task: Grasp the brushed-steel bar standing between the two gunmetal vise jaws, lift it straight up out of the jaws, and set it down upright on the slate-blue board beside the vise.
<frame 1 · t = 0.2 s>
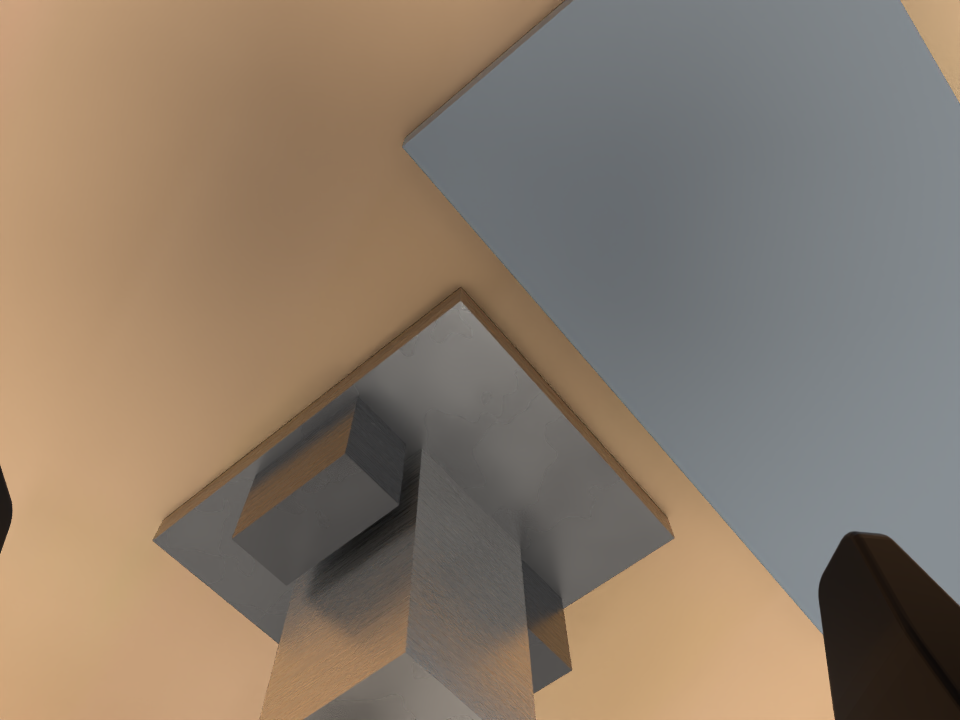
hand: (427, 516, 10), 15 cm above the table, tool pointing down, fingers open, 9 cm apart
vise: (416, 519, 28), on the table
slate board: (814, 317, 25), on the table
steel bar: (414, 539, 27), point 1 cm above the table, touching vise
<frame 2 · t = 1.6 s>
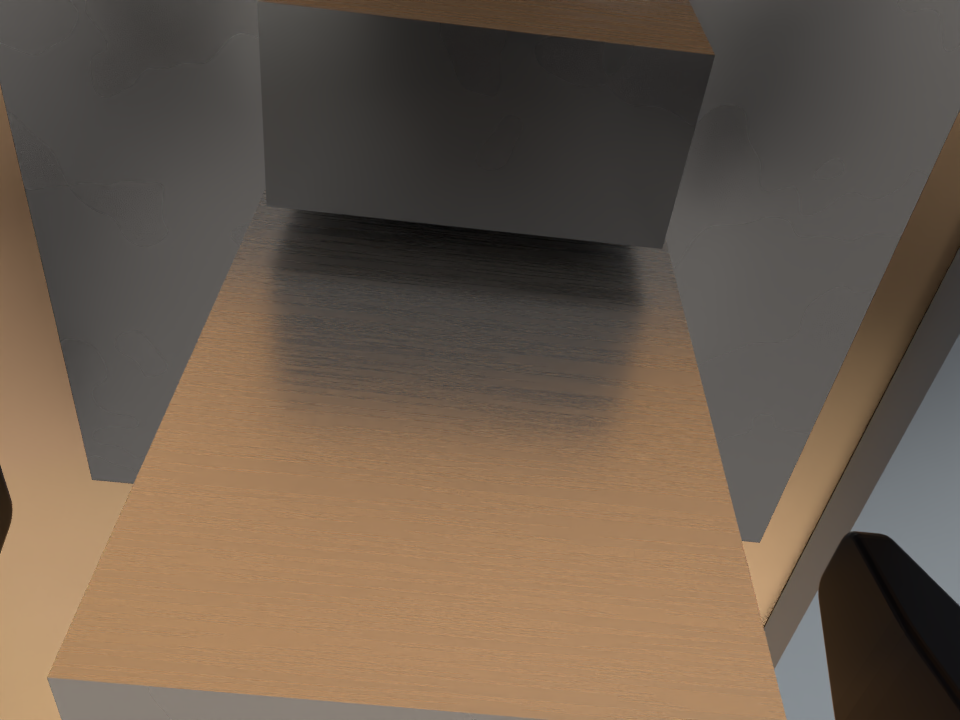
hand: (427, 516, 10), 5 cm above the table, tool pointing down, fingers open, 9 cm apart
vise: (460, 244, 14), on the table
steel bar: (456, 280, 13), point 1 cm above the table, touching vise
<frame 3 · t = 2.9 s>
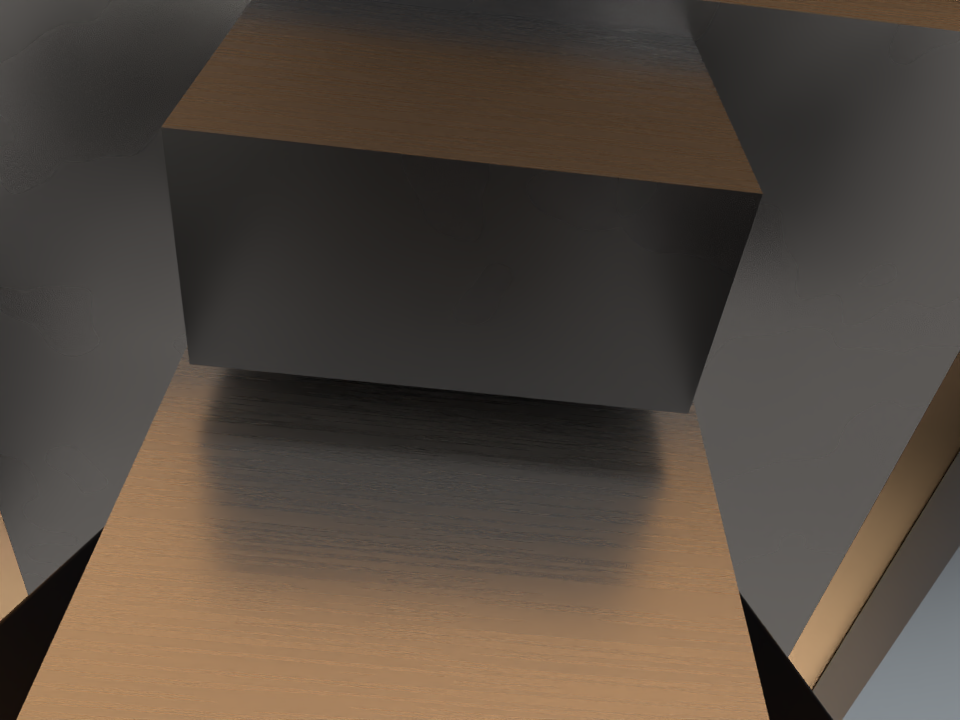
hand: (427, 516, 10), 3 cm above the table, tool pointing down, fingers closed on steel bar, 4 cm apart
vise: (443, 344, 12), on the table
steel bar: (438, 393, 11), point 1 cm above the table, touching gripper, vise
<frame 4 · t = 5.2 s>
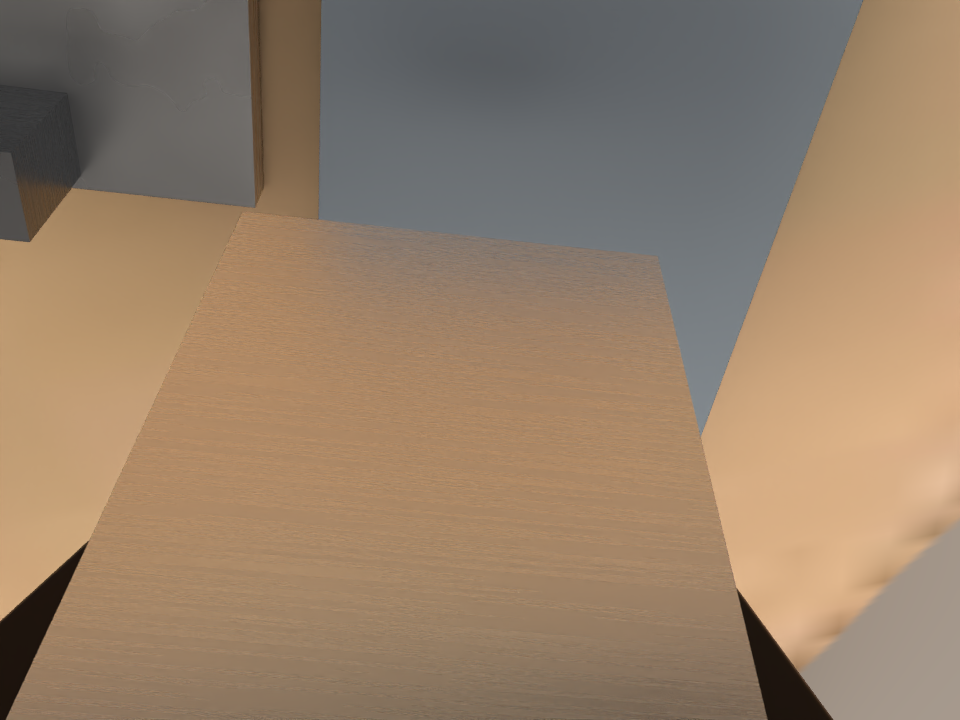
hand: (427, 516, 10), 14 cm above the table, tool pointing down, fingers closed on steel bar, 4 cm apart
slate board: (565, 105, 21), on the table
steel bar: (436, 390, 11), point 12 cm above the table, touching gripper
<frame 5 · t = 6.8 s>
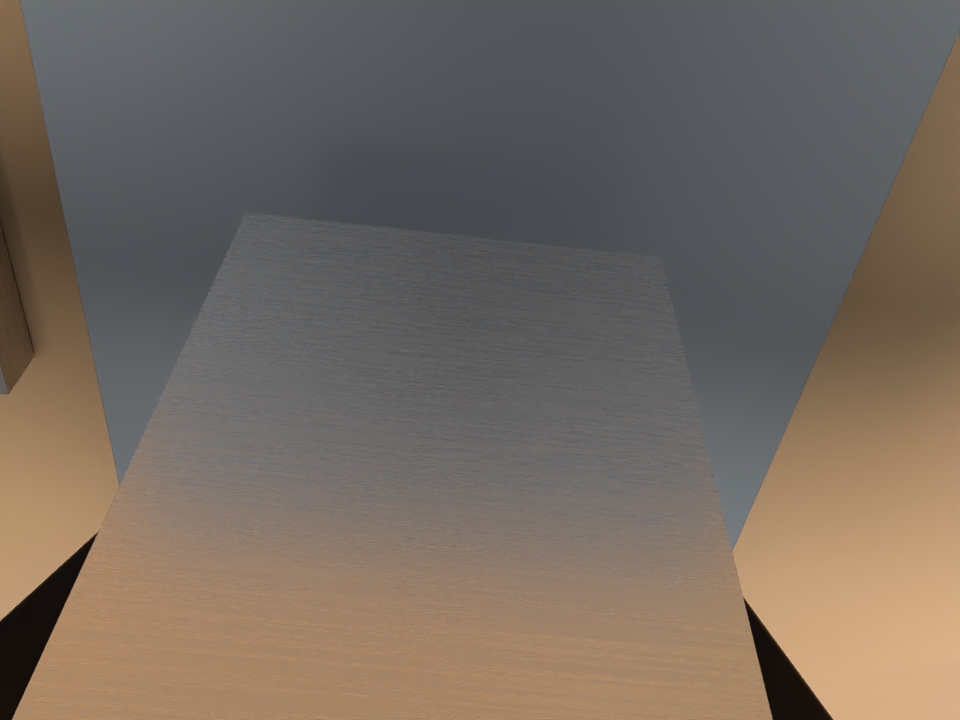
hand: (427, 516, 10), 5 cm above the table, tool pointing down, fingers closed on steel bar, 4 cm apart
slate board: (460, 250, 14), on the table
steel bar: (438, 391, 11), point 3 cm above the table, touching gripper
when the fingers open (4 cm above the table, at t = 7.8 s): steel bar drops 1 cm, resting on slate board.
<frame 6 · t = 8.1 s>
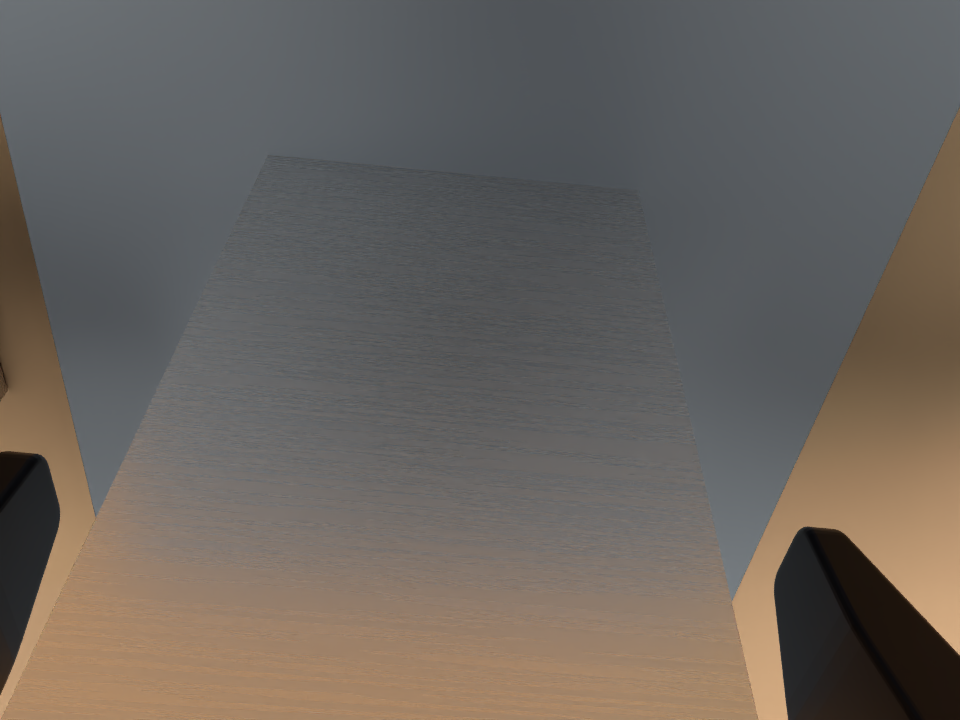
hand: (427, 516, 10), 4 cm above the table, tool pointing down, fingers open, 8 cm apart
slate board: (452, 282, 13), on the table
steel bar: (442, 321, 12), point 1 cm above the table, touching slate board
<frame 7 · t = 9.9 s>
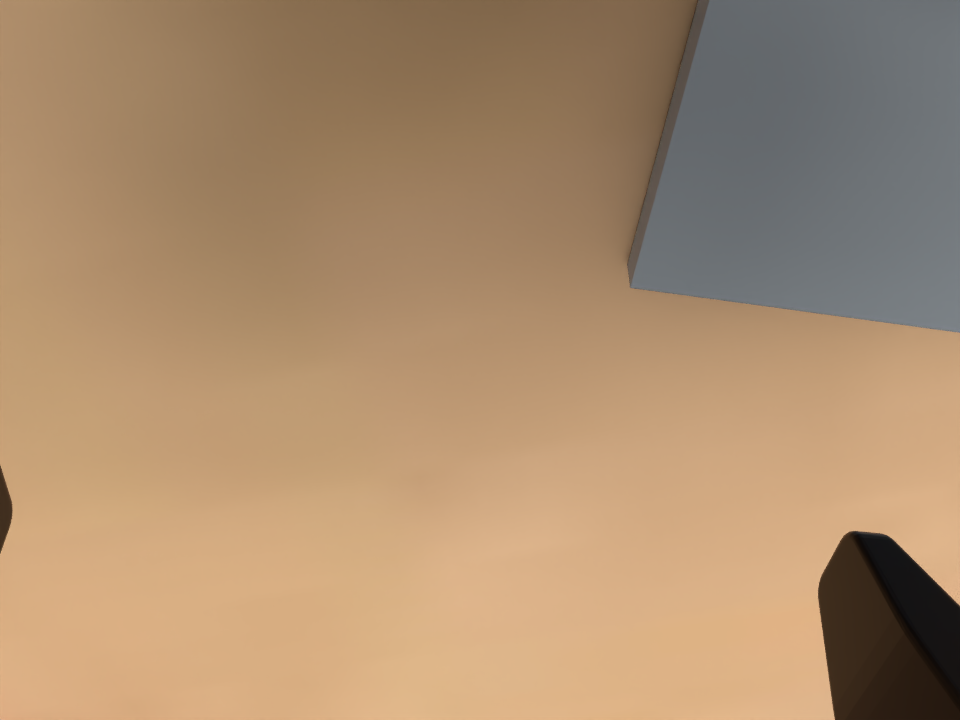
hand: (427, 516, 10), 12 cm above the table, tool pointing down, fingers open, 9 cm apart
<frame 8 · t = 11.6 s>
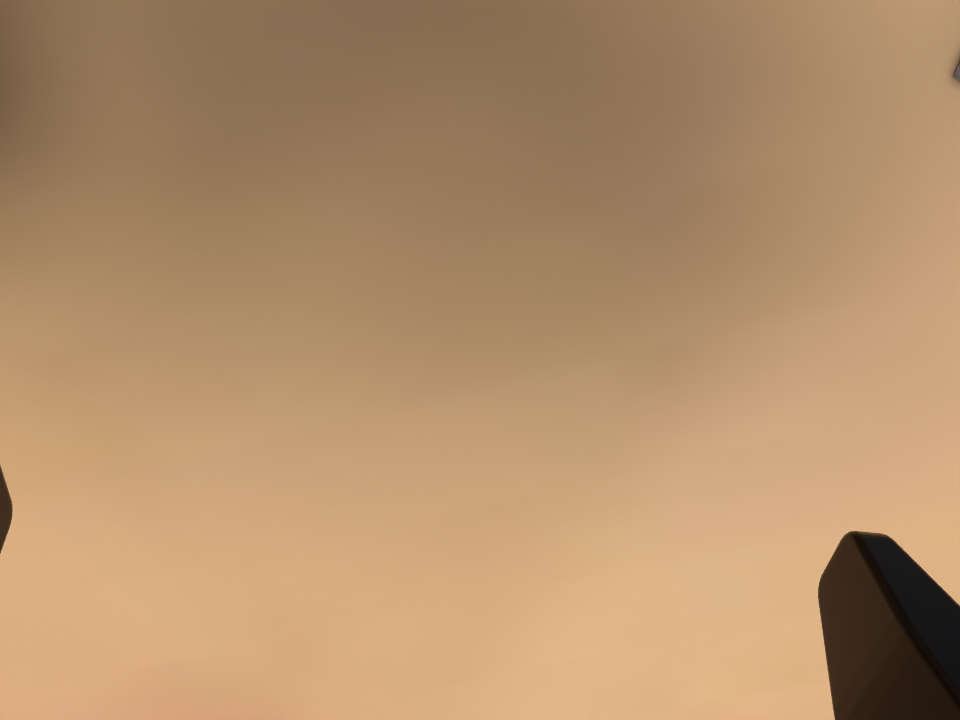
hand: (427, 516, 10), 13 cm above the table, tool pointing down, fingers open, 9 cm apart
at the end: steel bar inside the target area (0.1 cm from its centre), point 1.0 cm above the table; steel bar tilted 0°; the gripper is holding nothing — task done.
